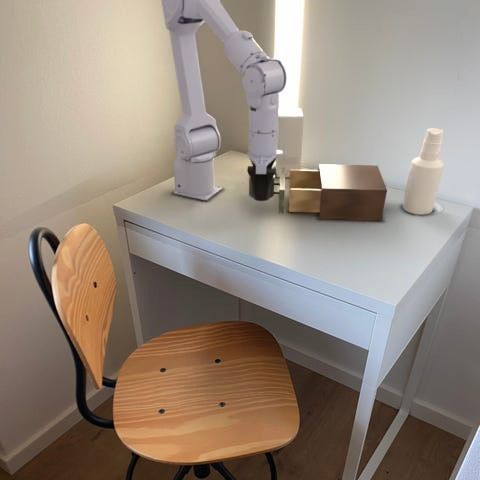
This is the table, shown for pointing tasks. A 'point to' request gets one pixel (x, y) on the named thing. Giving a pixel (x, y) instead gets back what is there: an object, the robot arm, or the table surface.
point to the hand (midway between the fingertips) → (261, 194)
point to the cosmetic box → (289, 139)
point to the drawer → (300, 191)
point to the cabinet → (351, 192)
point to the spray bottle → (425, 175)
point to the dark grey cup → (270, 191)
